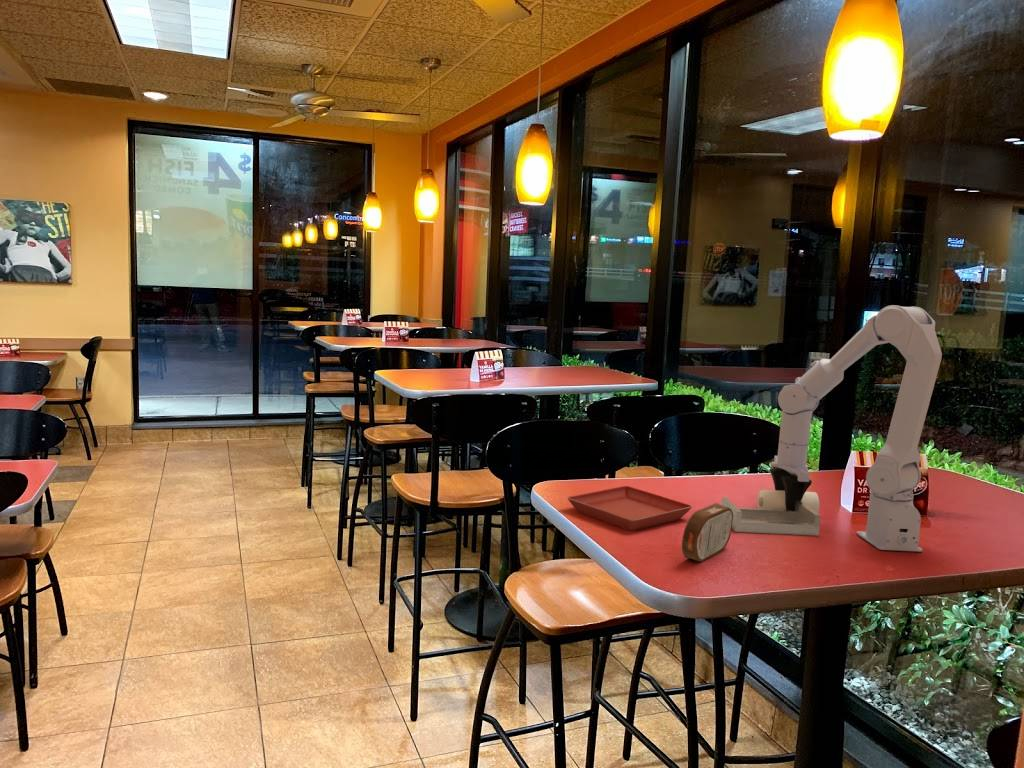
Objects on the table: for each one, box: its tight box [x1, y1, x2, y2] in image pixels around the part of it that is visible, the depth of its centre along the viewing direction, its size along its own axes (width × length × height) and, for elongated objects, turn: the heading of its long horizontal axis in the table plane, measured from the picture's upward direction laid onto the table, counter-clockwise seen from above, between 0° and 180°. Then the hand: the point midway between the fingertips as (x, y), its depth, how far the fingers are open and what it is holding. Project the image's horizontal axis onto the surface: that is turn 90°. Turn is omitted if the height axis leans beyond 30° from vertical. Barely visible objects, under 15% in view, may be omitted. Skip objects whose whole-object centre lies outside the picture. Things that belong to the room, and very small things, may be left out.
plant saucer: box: [567, 485, 693, 531], centre depth 153 cm, size 18×18×3 cm
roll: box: [757, 489, 820, 514], centre depth 159 cm, size 5×12×5 cm, turn 91°
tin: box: [681, 503, 733, 563], centre depth 131 cm, size 15×3×8 cm, turn 141°
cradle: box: [720, 496, 821, 537], centre depth 150 cm, size 10×16×4 cm, turn 91°
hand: (786, 506), depth 159 cm, fingers closed on roll, 5 cm apart
